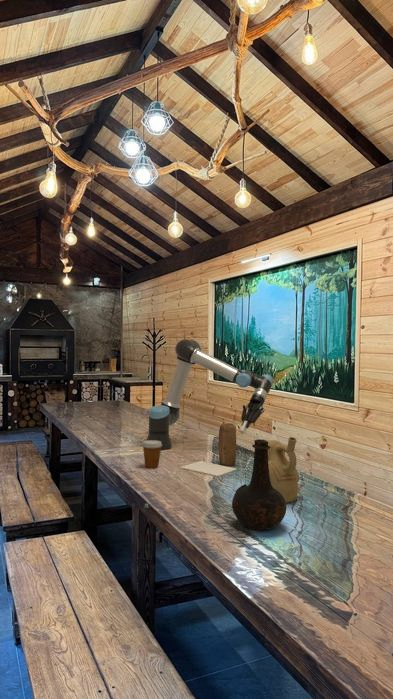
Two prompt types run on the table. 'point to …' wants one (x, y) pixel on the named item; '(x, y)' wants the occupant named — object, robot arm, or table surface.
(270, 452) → the ceramic vessel
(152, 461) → the disposable coffee cup
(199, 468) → the mat
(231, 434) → the block
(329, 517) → the table surface
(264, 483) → the glass bottle
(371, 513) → the table surface
